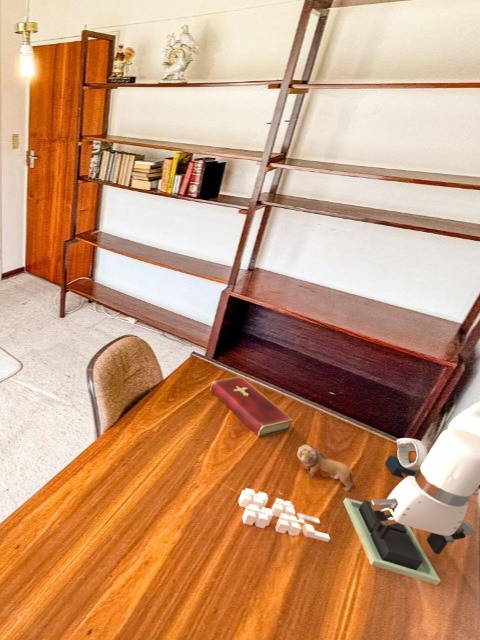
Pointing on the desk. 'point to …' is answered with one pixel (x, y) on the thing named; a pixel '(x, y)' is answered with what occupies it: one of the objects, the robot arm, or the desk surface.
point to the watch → (406, 457)
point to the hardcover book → (251, 406)
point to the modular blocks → (277, 515)
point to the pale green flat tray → (422, 573)
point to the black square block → (371, 517)
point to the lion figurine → (325, 465)
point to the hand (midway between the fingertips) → (404, 539)
